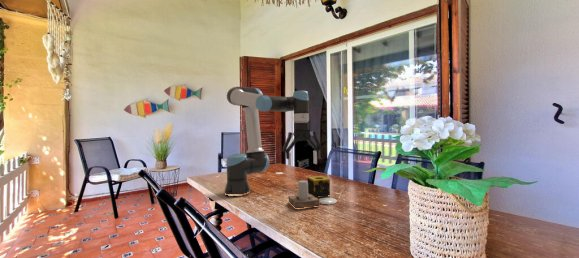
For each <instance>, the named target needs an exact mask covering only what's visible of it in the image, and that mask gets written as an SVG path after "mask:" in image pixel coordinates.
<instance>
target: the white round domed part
mask: <svg viewBox="0 0 579 258" xmlns="http://www.w3.org/2000/svg"><path fill="white" fill-rule="evenodd" d="M318 199H319V203H322V204H334V203H336V202H337V203H338V200H337V199H336V198H334V197H333V198H332V197H321V198H318ZM337 203H336V204H337ZM322 204H321V205H322ZM334 205H335V204H334Z"/></svg>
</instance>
